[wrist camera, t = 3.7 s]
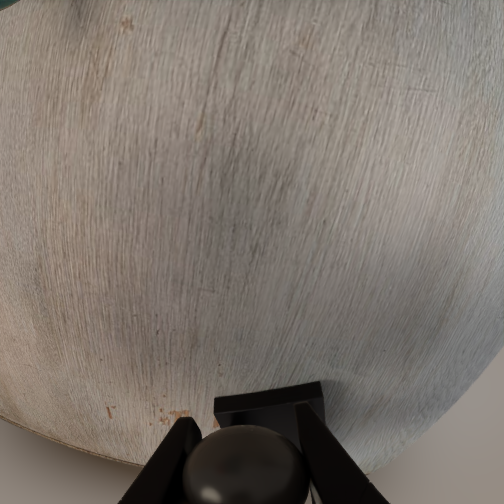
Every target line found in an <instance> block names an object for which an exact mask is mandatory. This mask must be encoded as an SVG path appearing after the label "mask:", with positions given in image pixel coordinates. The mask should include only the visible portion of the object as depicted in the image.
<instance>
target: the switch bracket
mask: <svg viewBox="0 0 504 504" xmlns="http://www.w3.org/2000/svg"><path fill="white" fill-rule="evenodd" d="M304 401H307V402H308V403H309V404H310V405H311V407H312V408H313V409H314V411H315V412H316V413H317V414H318V416H319V417H320V418H321V420H322V421H323V422H324V424H325V410H324V396H323V392H322V388H321V384H320V382H319V381H318V382H313V383H308V384H303V385H298V386H293V387H288V388H282V389H276V390H270V391H264V392H257V393H251V394H244V395H236V396H228V397H219V398H215V399H214V412H213V414H214V416H215V417H216V419H217V421H218V423H219V425H220V427H221V429H222V428H226V427H230V426H236V425H254V426H261V427H265V428H268V429H271V430H273V431H276V432H278V433H280V434H281V435H283V436H285V437H286V438H288V439H289V440H290V441H291V442H292V443H293V444H295V446H296V447H297V448H298V449H299V450H300V452H301V447H300V442H299V437H298V431H297V424H296V418H295V412H294V404H295V403H299V402H304ZM301 453H302V452H301ZM310 491H311V497H312V504H316V503H315V500H314V496H313V493H312V490H311V487H310Z"/></svg>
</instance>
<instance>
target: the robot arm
mask: <svg viewBox="0 0 504 504" xmlns="http://www.w3.org/2000/svg"><path fill="white" fill-rule="evenodd" d="M294 412H295V418H296V424H297V431H298V437H299V442H300V447H301V452H302V455H303V457H304V459H305V462H306V465H307V468H308V471H309V475H310V487H311V490H312V493H313V496H314V500H315V503H316V504H390V503H389V502H388V501H387V500H386V499H385V498H384V497H383V496H382V495H381V493H380V492H379V491H378V490H377V489H376V488H375V486H374V485H373V484H372V483H371V482H369V479H368V478H367V477H366V476H365V474H364V473H363V472H362V471H361V469H360V468H359V467H358V466H357V464H356V463H355V462H354V461H353V459H352V458H351V457H350V456H349V454H348V453H347V452H346V451H345V449H344V448H343V447H342V445H341V444H340V443H339V442H338V440H337V439H336V438H335V437H334V435H333V434H332V433H331V431H330V430H329V429H328V428H327V426H326V425H325V424H324V422H323V421H322V420H321V418H320V417H319V416H318V414H317V413H316V412H315V411H314V409H313V408H312V407H311V405H310V404H309V403H308V402H307V401H304V402H299V403H295V404H294ZM201 440H202V434H201V431H200V429H199V427H198V426H197V424H196V422H195V421H194V419H193V418H192V417H180V418H178V419H177V421H176V422H175V424H174V425H173V426H172V428H171V429H170V431H169V432H168V434H167V435H166V437H165V438H164V439H163V441H162V442H161V444H160V445H159V447H158V448H157V449H156V451H155V452H154V454H153V455H152V457H151V458H150V459H149V461H148V462H147V464H146V465H145V466H144V468H143V470H142V471H141V472H140V473H139V475H138V476H137V478H136V479H135V480H134V482H133V483H132V485H131V486H130V487H129V489H128V490H127V492H126V493H125V495H124V496H123V497H122V500H120V501H119V503H118V504H188V503H187V501H186V499H185V496H184V493H183V488H182V472H183V467H184V464H185V461H186V459H187V457H188V455H189V454H190V452H191V451H192V449H193V448H194V447H195V446H196V445H197V444H198V443H199V442H200V441H201Z"/></svg>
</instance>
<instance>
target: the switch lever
mask: <svg viewBox="0 0 504 504" xmlns="http://www.w3.org/2000/svg"><path fill="white" fill-rule="evenodd" d="M182 488H183V493H184V496H185V499H186V501H187V503H188V504H305V501H306V499H307V496H308V493H309V488H310V475H309V471H308V468H307V465H306V462H305V459H304V457H303V455H302V453H301V452H300V450H299V449H298V448H297V447H296V446H295V444H293V443H292V442H291V441H290V440H289V439H288V438H286V437H285V436H283V435H281V434H280V433H278V432H276V431H273V430H271V429H268V428H265V427H261V426H254V425H236V426H230V427H226V428H222V429H220V430H217V431H215V432H213V433H211V434H209V435H208V436H206V437H205V438H203V439H202V440H201V441H200V442H199V443H198V444H197V445H196V446H195V447H194V448H193V449H192V451H191V452H190V454H189V455H188V457H187V459H186V461H185V464H184V467H183V472H182Z"/></svg>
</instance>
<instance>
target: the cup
mask: <svg viewBox="0 0 504 504" xmlns="http://www.w3.org/2000/svg"><path fill="white" fill-rule="evenodd" d="M18 1H20V0H0V11H1V10H3V9H6V8H8V7H10V6H12V5H13V4H15V3H17V2H18Z"/></svg>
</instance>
